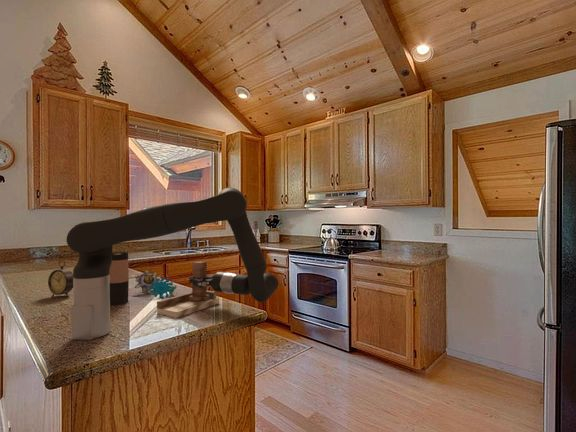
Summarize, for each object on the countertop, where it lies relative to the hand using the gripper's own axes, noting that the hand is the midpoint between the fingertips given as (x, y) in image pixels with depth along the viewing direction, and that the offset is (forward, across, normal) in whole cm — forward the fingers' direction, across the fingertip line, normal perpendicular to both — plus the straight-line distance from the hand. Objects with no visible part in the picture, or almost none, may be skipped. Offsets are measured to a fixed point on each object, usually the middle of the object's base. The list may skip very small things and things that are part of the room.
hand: (194, 278), depth 126 cm
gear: (+22, -3, +10) cm, 24 cm away
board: (-3, +5, +10) cm, 12 cm away
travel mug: (+30, +13, +10) cm, 34 cm away
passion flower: (+36, -6, +10) cm, 37 cm away
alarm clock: (+62, +18, +10) cm, 66 cm away
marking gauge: (-3, 0, +8) cm, 8 cm away
